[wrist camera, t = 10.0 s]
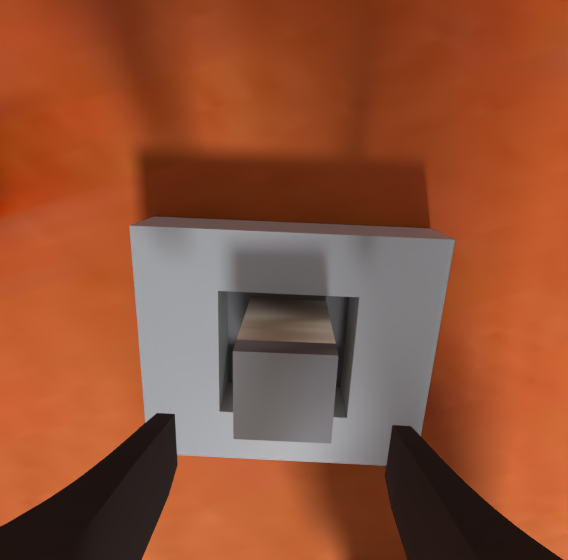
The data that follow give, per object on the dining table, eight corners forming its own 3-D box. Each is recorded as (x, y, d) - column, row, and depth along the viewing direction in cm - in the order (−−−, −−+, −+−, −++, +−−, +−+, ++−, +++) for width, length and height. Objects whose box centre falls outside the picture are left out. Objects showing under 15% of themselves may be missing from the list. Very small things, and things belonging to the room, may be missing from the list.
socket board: (431, 228, 19) (454, 239, 16) (400, 428, 23) (415, 467, 20) (153, 216, 19) (129, 225, 16) (166, 417, 23) (147, 453, 20)
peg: (325, 300, 20) (338, 355, 14) (321, 367, 21) (331, 443, 15) (250, 297, 20) (232, 351, 14) (249, 364, 21) (233, 439, 16)
